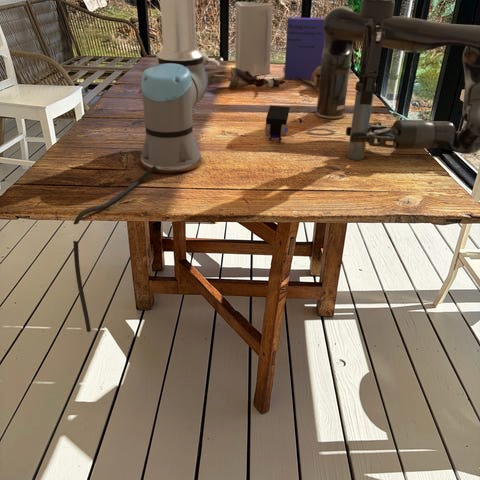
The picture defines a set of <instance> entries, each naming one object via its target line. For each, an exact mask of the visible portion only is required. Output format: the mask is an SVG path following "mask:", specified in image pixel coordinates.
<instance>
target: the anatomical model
mask: <svg viewBox="0 0 480 480" xmlns="http://www.w3.org/2000/svg"><path fill="white" fill-rule="evenodd" d="M320 70H321V66H319V67H317V68H316V70H315V71H314V72H313V73H312V75H311V80H310V82H311V84H312V85H313V87H315V88H316V89H315V92H316V93H318V91H319V81H320ZM313 87H312V88H313Z"/></svg>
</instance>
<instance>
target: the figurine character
mask: <svg viewBox="0 0 480 480" xmlns="http://www.w3.org/2000/svg"><path fill="white" fill-rule="evenodd" d="M289 113H290V107H289V106H282V105H281V106H280V105H269V109H268V111H267V115H266V118H265V129H264V137H269V138H268V142H269V143H272V139H275V140H276V139H278V143H281V142H282V139H283V138H285V137H286V134H287V133H288V132H289V129H288V126H287V125H288V119H289Z"/></svg>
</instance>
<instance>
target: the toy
mask: <svg viewBox="0 0 480 480" xmlns="http://www.w3.org/2000/svg"><path fill="white" fill-rule="evenodd" d="M160 52H161V51H159V52H157V53H156V54H155V55H156V56H155V66H156V65H158V54H159V53H160ZM200 52H201V53H202V54H203V66H207V65H209V64H214V65H215V67H216V66H217V67H218V68H219V67H220V66H221V63H220V62H219V60H216V59H215V58H209V56H208V55H207V54H204V53H203V52H202V51H200Z"/></svg>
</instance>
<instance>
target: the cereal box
mask: <svg viewBox="0 0 480 480" xmlns="http://www.w3.org/2000/svg"><path fill="white" fill-rule="evenodd" d="M324 19H325V17H291V16H290V17H287V23H286V24H287V25H286V40H285V41H286V42H285V56H284V57H285V58H284V59H285V60H284V74H283V78H284V79H283V80H297V79H296V77H299V78H301V79H303V80H305V81H306V80H307V81H308V80H309V81H311V75H312V73H313V72H314V71H315V70H316V68H317V67H319V66H321V59H322V52H323V48H324V42H325V31H324V28H323V23H324Z"/></svg>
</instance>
